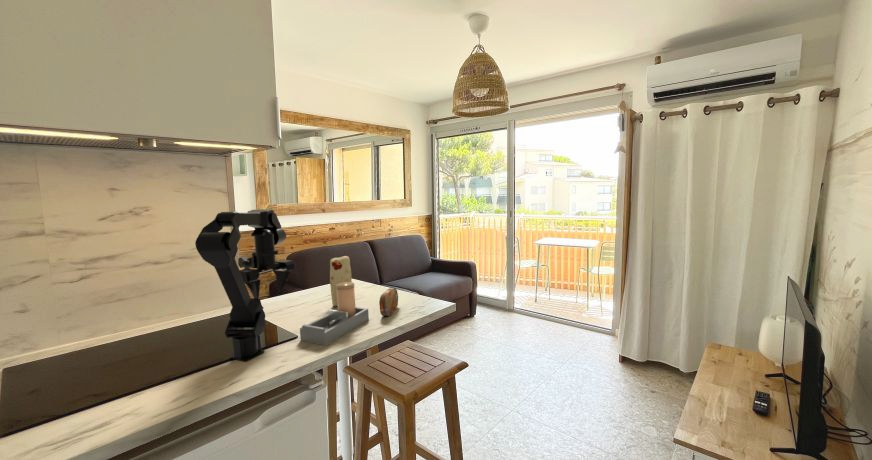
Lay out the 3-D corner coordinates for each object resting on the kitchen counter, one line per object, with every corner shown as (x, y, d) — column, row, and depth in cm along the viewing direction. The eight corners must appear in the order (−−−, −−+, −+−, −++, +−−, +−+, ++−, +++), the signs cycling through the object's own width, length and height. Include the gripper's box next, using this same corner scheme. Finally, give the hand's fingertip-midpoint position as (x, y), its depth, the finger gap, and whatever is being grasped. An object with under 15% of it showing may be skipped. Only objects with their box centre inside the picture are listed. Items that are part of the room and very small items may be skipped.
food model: (338, 309, 143) (335, 259, 140) (327, 306, 146) (324, 257, 144) (356, 302, 151) (354, 255, 148) (345, 299, 154) (343, 253, 152)
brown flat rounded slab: (386, 319, 131) (385, 296, 130) (378, 319, 131) (377, 296, 130) (399, 305, 145) (398, 285, 144) (391, 305, 146) (390, 285, 145)
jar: (344, 324, 123) (342, 287, 122) (335, 320, 128) (332, 284, 126) (360, 319, 128) (357, 283, 126) (350, 315, 132) (347, 281, 130)
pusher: (339, 331, 118) (338, 317, 117) (321, 328, 121) (320, 314, 120) (348, 325, 122) (347, 311, 122) (330, 322, 125) (330, 309, 125)
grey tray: (325, 345, 110) (325, 329, 109) (300, 340, 114) (299, 325, 113) (368, 319, 131) (368, 306, 130) (346, 315, 135) (345, 302, 134)
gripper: (270, 242, 128) (273, 285, 130) (220, 252, 111) (225, 301, 113) (294, 244, 123) (297, 288, 125) (246, 254, 106) (250, 305, 108)
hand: (268, 295), depth 118 cm, fingers open, 9 cm apart
